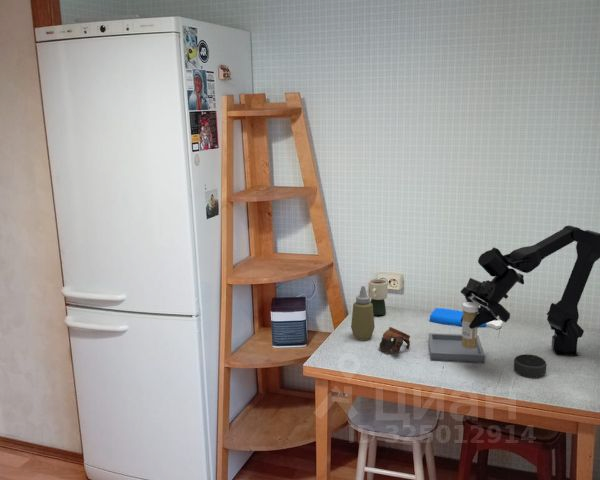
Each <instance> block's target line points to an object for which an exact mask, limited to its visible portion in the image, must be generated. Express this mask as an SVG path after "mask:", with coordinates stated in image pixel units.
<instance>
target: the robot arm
mask: <svg viewBox="0 0 600 480" xmlns="http://www.w3.org/2000/svg"><path fill="white" fill-rule="evenodd" d="M573 242H576V245H575V250H576V251H575V252H576V260H575V263H574V265H573V267H572V271H571V272H570V276H569V277H568V281H567V282H566V283H567V284H566V285H565V289H564V290H563V293H562V296H561V298H560V300H558V301H557V303H554V302H552V303H551V304H550V307H549V310H548V312H547V313H546V315H547V318H546V321H548V325H550V330H553V333H554V335H552V336H551V345H550V346H551V350H552V351H554V354H556V355H557V356H573V357H575V356H576V357H577V356H579V353H578V352H577V351H578V350H577V349H578V340H579V338H582V337H583V335H584V333H585V331H584V329H583V328H582V327H581V326H580V325H579V324H578V322H579V317H580V315H579V309H578V305H579V303H580V300H581V297H582V296H583V293H584V290H585V287H586V285H587V283H588V280H589V277H590V274H591V272H592V270H593V267H594V264H595V263H596V262H597V261H598V260H599V259H600V232H597V231H593V230H589V229H588V230H584V229H582V228H581V227H578V226H573V225H570V224H569V225H565V226H564V227H563V228H562V229H560V230H559V231H556V232H555V233H553V234H551V235H549V236H547V237H546V238H544V239H542V240H540V241H539V242H537V243H535V244H533V245H528V246H522V247H519V248H517V249H513V250H512V251H511V252H509V253H506V254H502V252H501V250H500V249H498V248H496V247H494V246H493V247H492V249H489V250H486V251H484V252H483V253H481V254H480V255H479V257H478V259H477V263H478V264H479V266H481V267H482V268H483V270H484V271H485V272H486V273H487V274H489V276H490V277H493V278H492V280H491V281H490V280H484V281H479V280H477V279H474V278H472V277H469V279H468V281H467V284H466V286H464V287H463V288H462V289H461V290H460V293H461V294H462V295H463V296H464V299H465V300H466V301H465V302H474V303H477V304H478V305H479V311H478V314H477V316H476V317H475V318H474V320H473V321H472V322H471V324H470V325H469V328H470V329H473V328H475V327H477V328H479V327H478V326H480V325H482V324H485V323H488V322H490V321H497V320H502V323H505V324H506V323H507V322H508V321H509V320H510V318H511V312H509V311H508V310H507V309H506V308H505V307H504V306H503V305H502V304H501V303H500V302H501V301H502V300H503V299H506V300H507V299H508V297H509V295H508V293H509V292H510V290H511V289H512V288H513V287H514V286H515V285H516V284H517V283H519V284H520V285H524V284H525V280H524V276H525V275H524V274H528V273H531V272H532V271H534V270H535V269H536V268H538V267H539V266H540V265H541V262H542V261H543V260H544V259H545V258H547V257H548V256H551V255H552V254H554V253H556V252H558V251H559V250H561V249H563V248H565V247H566V246H568V245H570V244H572V243H573ZM509 267H511V268H509ZM516 270H517V271H519V272H520V273H518V272H517V271H516ZM521 273H524V274H521ZM498 318H499V319H498ZM462 321H463V316H462V318H461V322H462Z"/></svg>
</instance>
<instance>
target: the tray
mask: <svg viewBox="0 0 600 480" xmlns="http://www.w3.org/2000/svg"><path fill="white" fill-rule="evenodd" d="M461 344H462V334H459V333H458V334H457V333H456V334H454V333H437V332H436V333H435V332H433V333H432V332H428V347H429V348H428V349H429V357H430V361H439V362H456V363H470V362H471V363H473V364H485V361H486V354H485V351H484V348H483V346H482V343H481V339H480V336H479V335H478V334H477V347H476V348H475V349H466V348H464V347H462V345H461Z"/></svg>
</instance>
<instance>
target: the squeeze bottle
mask: <svg viewBox="0 0 600 480" xmlns="http://www.w3.org/2000/svg"><path fill="white" fill-rule="evenodd" d="M374 316H375V315H374V314H373V304H372V303H371V298H370V297H369V296H368V293H367V291H366V286H363V285H362V286H361V287H360V290H359V295H357V296H355V302H353V306H352V313H351V323H350V328H351V332H352V334H353V337H354V338H355V339H357V340H361V341H363V340H365V341H366V340H367V341H368V340H370V339H371V338H372V336H373V333H374V332H375V331H374V330H375V326H376V325H375V317H374Z"/></svg>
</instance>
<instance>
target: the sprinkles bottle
mask: <svg viewBox="0 0 600 480" xmlns="http://www.w3.org/2000/svg"><path fill="white" fill-rule="evenodd" d="M479 308H480V305H478V304H477V303H474V302H467V301H465V302H463V304H462V312H463V321H462V326H461V335H462V344H461V345H462V347H464V348H466V349H475V348H476V347H477V335H478V327H475V328H473V329H470V328H469V325H470V324H471V322H472V321H473V320H474V318H475V317H476V316H477V314H478V311H479Z"/></svg>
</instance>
